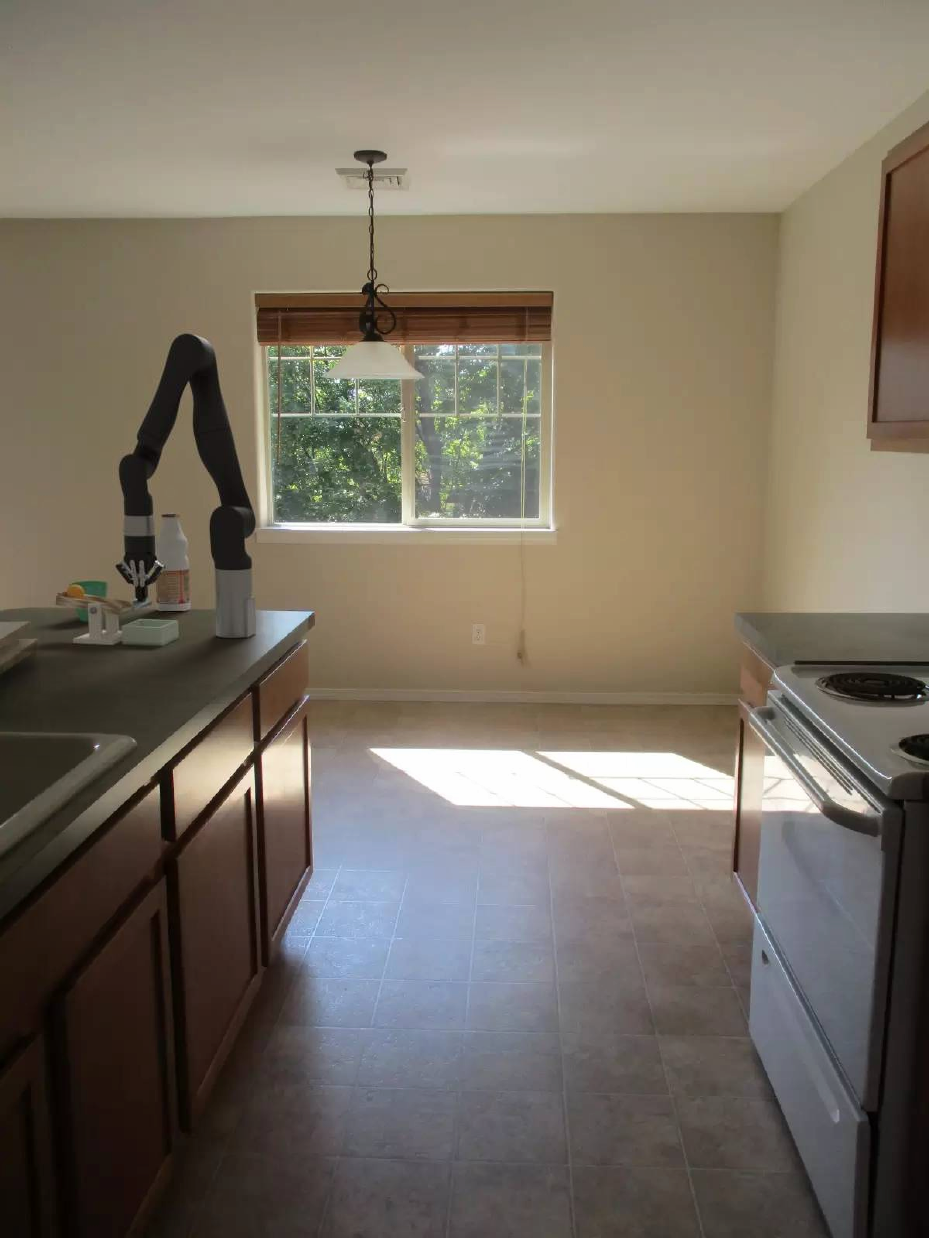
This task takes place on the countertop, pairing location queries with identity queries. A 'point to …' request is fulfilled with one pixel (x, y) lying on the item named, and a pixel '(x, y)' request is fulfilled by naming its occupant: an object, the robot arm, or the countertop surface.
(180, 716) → the countertop surface
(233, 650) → the countertop surface
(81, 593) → the ball
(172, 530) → the fruit juice
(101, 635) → the stand
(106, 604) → the lever
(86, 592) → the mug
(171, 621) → the pale green tray
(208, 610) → the countertop surface
